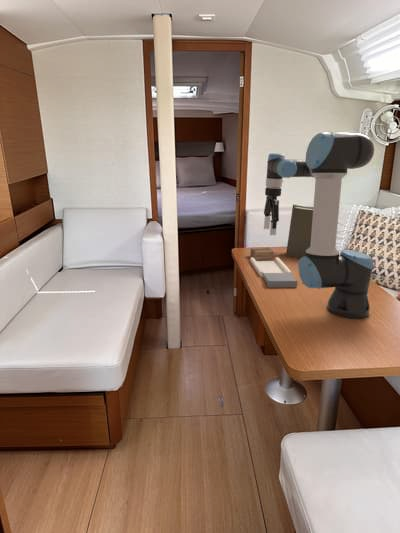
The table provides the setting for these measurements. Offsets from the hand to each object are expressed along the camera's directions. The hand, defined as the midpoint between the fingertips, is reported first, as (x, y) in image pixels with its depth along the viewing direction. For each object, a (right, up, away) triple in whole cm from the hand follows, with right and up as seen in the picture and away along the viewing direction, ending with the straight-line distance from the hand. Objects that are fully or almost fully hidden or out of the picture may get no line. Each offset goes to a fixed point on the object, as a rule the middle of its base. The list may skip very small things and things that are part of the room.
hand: (269, 231), depth 182 cm
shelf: (0, -19, 0) cm, 19 cm away
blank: (-2, -14, +15) cm, 21 cm away
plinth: (+1, -25, -15) cm, 29 cm away
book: (+25, -12, +23) cm, 36 cm away
